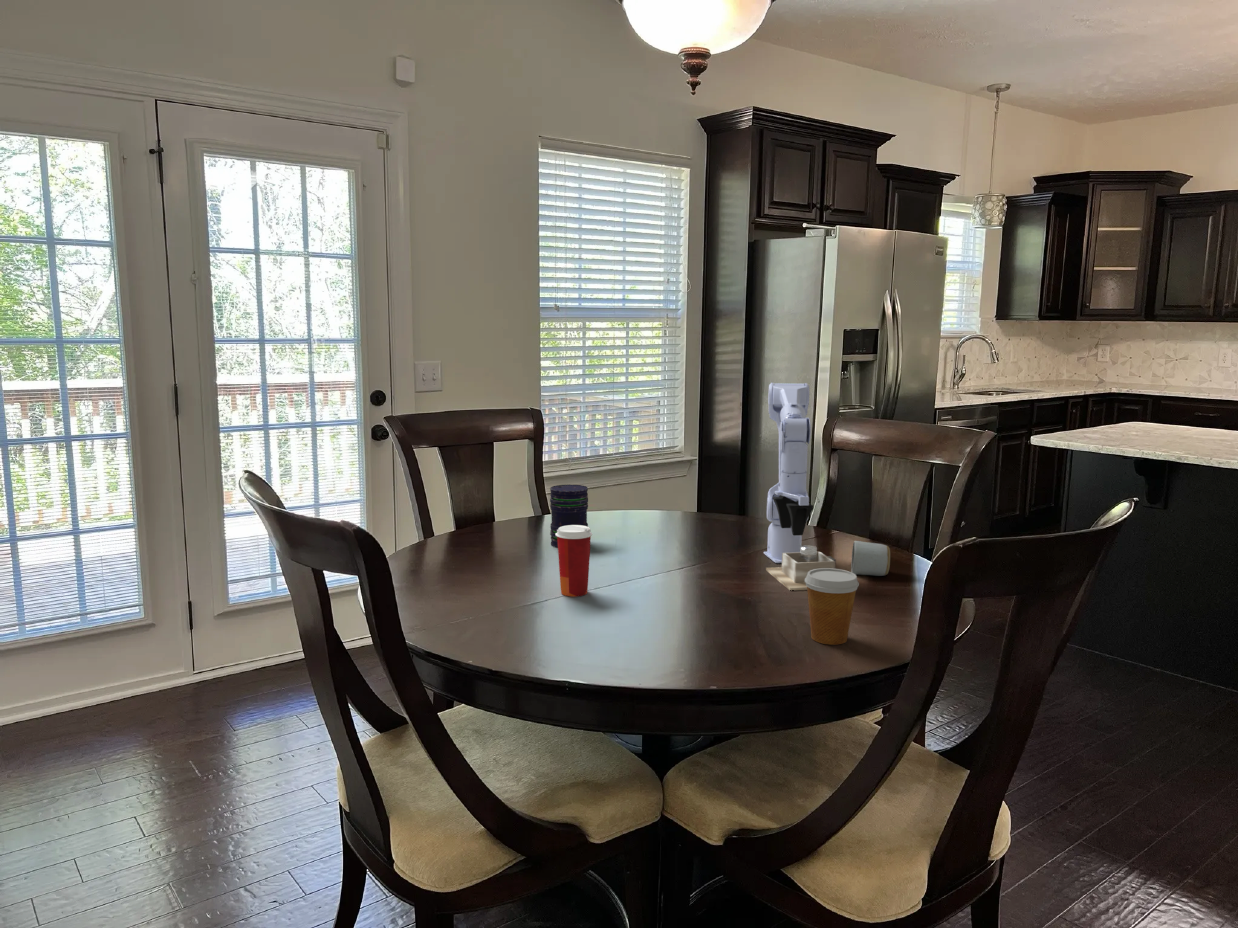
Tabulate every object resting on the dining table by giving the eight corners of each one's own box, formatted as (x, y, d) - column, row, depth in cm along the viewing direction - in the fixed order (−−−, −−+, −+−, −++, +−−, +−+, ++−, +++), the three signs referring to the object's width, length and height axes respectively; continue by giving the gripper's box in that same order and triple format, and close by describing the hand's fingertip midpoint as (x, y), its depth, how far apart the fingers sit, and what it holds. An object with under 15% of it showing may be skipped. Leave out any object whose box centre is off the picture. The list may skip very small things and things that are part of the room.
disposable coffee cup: (795, 630, 160) (798, 567, 158) (845, 629, 161) (848, 567, 159) (811, 648, 151) (814, 582, 149) (864, 647, 151) (867, 581, 150)
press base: (766, 570, 200) (766, 549, 199) (823, 568, 202) (824, 547, 201) (789, 590, 185) (790, 568, 184) (851, 587, 187) (852, 565, 186)
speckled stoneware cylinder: (890, 580, 193) (891, 546, 192) (852, 577, 194) (854, 544, 193) (884, 568, 203) (886, 536, 202) (849, 566, 205) (850, 534, 204)
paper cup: (597, 589, 185) (597, 525, 183) (584, 599, 178) (584, 533, 176) (563, 585, 187) (563, 523, 185) (549, 595, 180) (549, 530, 178)
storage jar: (595, 542, 225) (595, 486, 223) (573, 550, 217) (573, 492, 215) (564, 537, 231) (564, 483, 228) (542, 545, 223) (542, 488, 220)
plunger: (788, 571, 196) (789, 544, 195) (815, 570, 197) (817, 543, 196) (798, 580, 190) (799, 551, 189) (827, 578, 191) (828, 550, 190)
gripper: (766, 467, 199) (764, 525, 200) (787, 477, 184) (785, 538, 186) (795, 467, 200) (793, 524, 201) (818, 476, 185) (816, 538, 187)
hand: (791, 531), depth 194 cm, fingers open, 7 cm apart
